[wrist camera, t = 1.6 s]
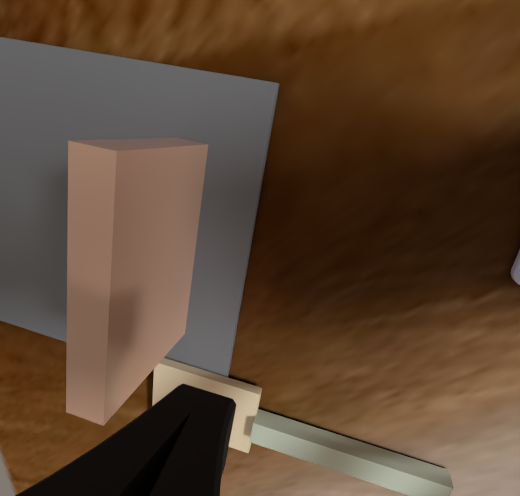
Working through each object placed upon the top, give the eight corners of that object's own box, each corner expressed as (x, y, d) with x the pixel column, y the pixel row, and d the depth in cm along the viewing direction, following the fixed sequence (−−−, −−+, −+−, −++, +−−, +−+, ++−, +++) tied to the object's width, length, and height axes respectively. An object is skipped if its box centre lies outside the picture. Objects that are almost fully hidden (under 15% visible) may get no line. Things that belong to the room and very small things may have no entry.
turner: (460, 449, 19) (464, 467, 18) (430, 506, 20) (433, 525, 19) (158, 356, 21) (149, 367, 20) (155, 413, 23) (147, 426, 22)
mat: (279, 83, 16) (278, 83, 16) (225, 390, 21) (224, 394, 21) (-13, 35, 19) (-19, 33, 19) (2, 317, 24) (-2, 319, 24)
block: (208, 144, 17) (116, 151, 11) (184, 333, 21) (103, 425, 14) (175, 137, 18) (67, 140, 11) (157, 325, 21) (65, 411, 14)
